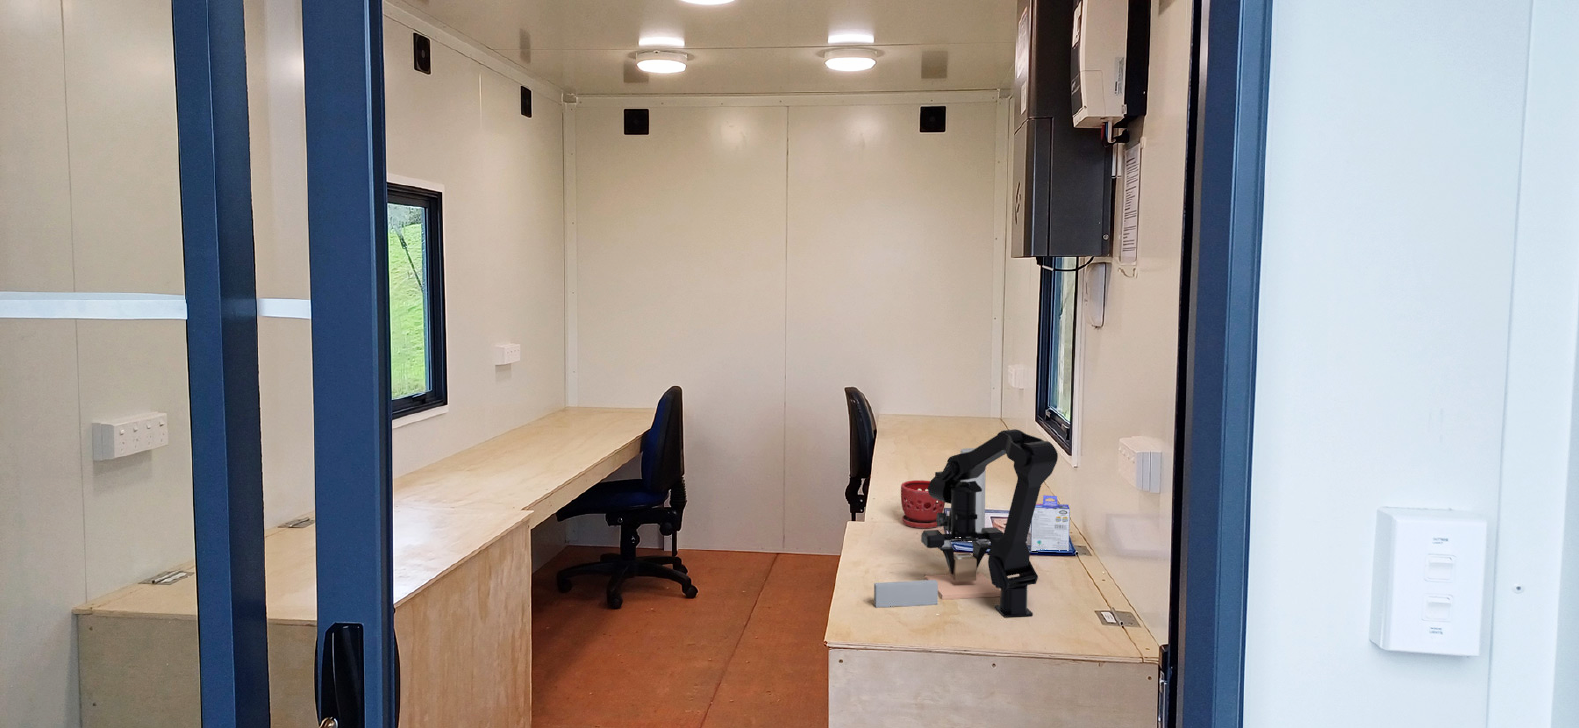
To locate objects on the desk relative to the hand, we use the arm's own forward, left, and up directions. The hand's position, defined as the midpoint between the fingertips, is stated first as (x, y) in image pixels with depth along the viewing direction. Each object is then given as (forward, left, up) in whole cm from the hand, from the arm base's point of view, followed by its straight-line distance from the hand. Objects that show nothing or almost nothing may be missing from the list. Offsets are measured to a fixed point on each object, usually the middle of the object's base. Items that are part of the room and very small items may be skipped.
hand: (962, 573), depth 225 cm
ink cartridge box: (+25, -32, -4) cm, 41 cm away
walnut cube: (0, 0, -1) cm, 1 cm away
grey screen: (-9, +16, -4) cm, 19 cm away
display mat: (0, 0, -4) cm, 4 cm away
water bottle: (+38, -14, -4) cm, 41 cm away
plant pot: (+55, -6, -4) cm, 55 cm away
